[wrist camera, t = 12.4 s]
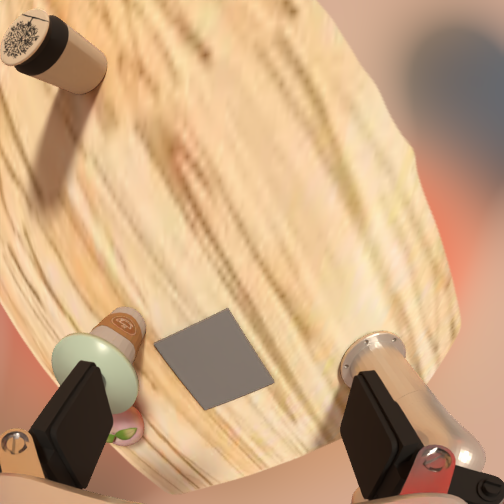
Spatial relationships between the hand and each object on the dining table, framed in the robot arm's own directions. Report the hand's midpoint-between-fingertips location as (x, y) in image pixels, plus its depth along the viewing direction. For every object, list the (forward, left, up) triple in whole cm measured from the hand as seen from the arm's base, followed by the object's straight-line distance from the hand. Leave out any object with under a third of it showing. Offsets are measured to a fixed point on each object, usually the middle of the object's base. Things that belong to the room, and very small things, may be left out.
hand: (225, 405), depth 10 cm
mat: (-18, +14, -36) cm, 43 cm away
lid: (-5, +23, -21) cm, 32 cm away
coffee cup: (-5, +23, -36) cm, 43 cm away
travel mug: (+34, +9, -36) cm, 51 cm away
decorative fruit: (-20, +35, -36) cm, 55 cm away
